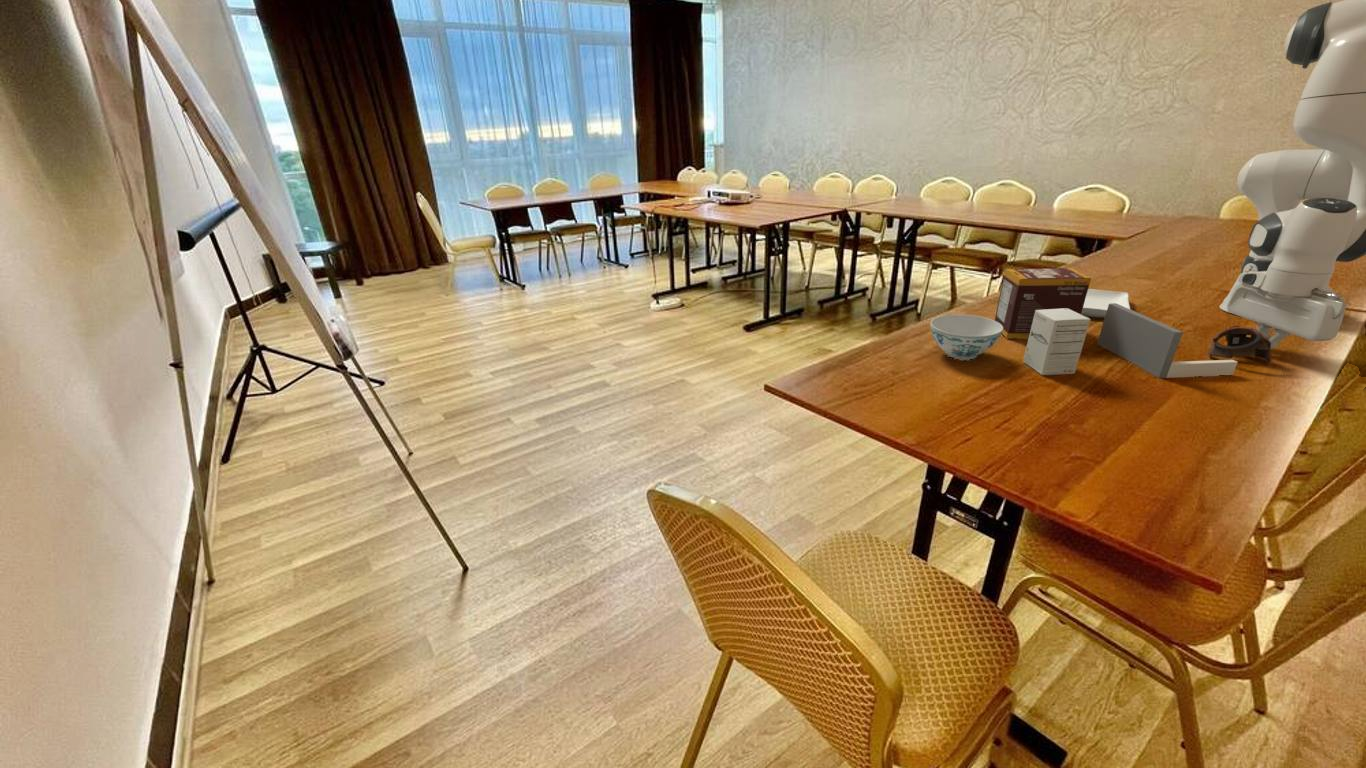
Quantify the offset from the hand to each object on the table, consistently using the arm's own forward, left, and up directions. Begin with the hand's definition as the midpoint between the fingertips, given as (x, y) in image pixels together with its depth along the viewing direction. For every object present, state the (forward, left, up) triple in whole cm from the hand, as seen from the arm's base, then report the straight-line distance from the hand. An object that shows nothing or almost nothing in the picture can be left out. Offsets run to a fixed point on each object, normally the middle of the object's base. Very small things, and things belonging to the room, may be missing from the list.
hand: (1265, 345), depth 112 cm
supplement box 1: (+38, -19, -2) cm, 42 cm away
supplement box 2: (+46, +3, -2) cm, 46 cm away
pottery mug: (+6, +1, -2) cm, 7 cm away
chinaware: (+61, -6, -2) cm, 61 cm away
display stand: (+21, 0, -2) cm, 21 cm away
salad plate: (+16, -37, -3) cm, 40 cm away
